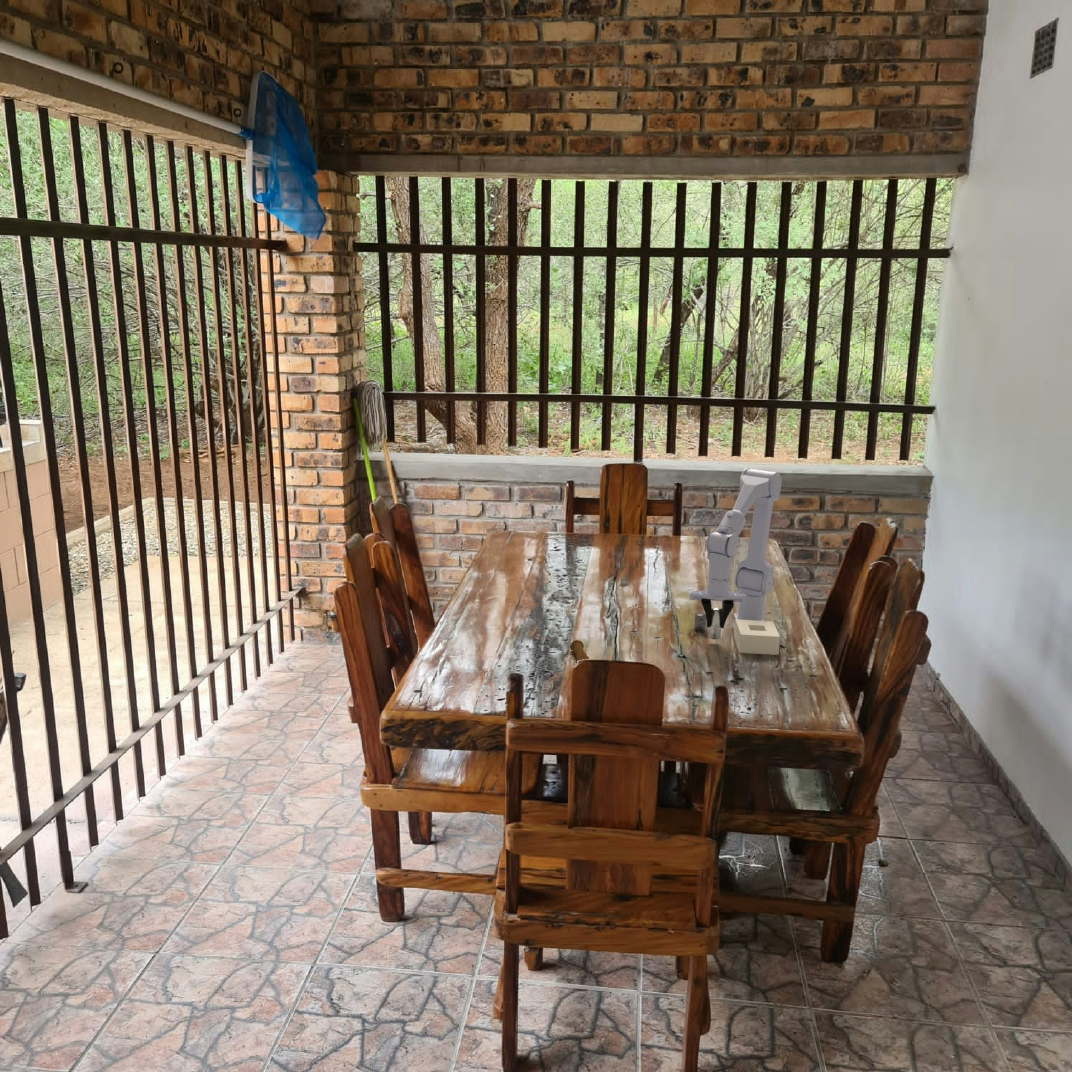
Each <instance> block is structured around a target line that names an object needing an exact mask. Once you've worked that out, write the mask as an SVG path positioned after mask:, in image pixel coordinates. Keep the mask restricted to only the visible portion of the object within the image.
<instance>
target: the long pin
mask: <svg viewBox="0 0 1072 1072" xmlns="http://www.w3.org/2000/svg"><path fill="white" fill-rule="evenodd" d="M721 620H722V607H718V606H713V607H712V606H711V614H710V628H709V627H708V629H709V630H708V638H709V639H711V640H720V639H721V633H722V630H721V629H722V628H721Z"/></svg>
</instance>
